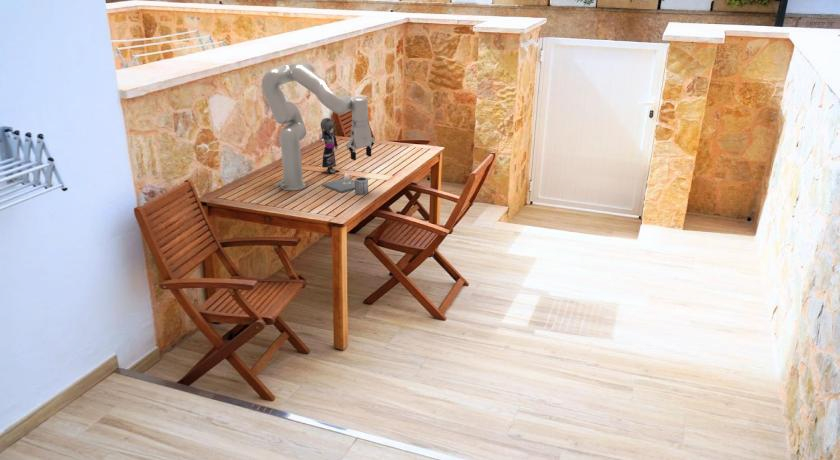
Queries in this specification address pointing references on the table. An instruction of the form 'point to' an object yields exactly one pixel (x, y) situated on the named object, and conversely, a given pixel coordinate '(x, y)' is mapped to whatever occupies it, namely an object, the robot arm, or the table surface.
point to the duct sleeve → (361, 185)
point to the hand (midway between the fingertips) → (361, 157)
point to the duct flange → (341, 184)
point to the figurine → (328, 144)
